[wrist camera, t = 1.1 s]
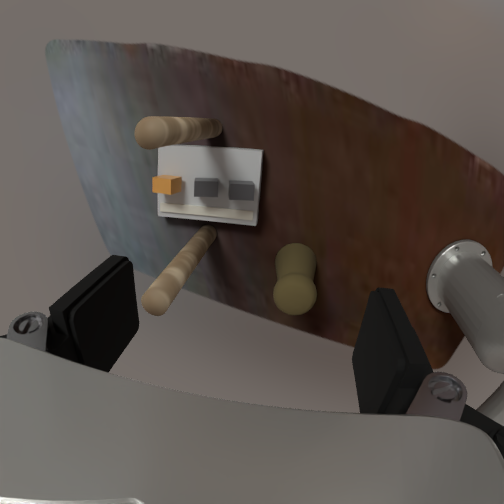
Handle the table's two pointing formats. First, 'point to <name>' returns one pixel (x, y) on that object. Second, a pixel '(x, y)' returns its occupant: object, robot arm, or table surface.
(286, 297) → the cork
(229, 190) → the grey block
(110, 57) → the table surface
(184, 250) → the post far
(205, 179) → the grey block
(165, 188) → the orange block
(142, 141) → the post near
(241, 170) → the panel
